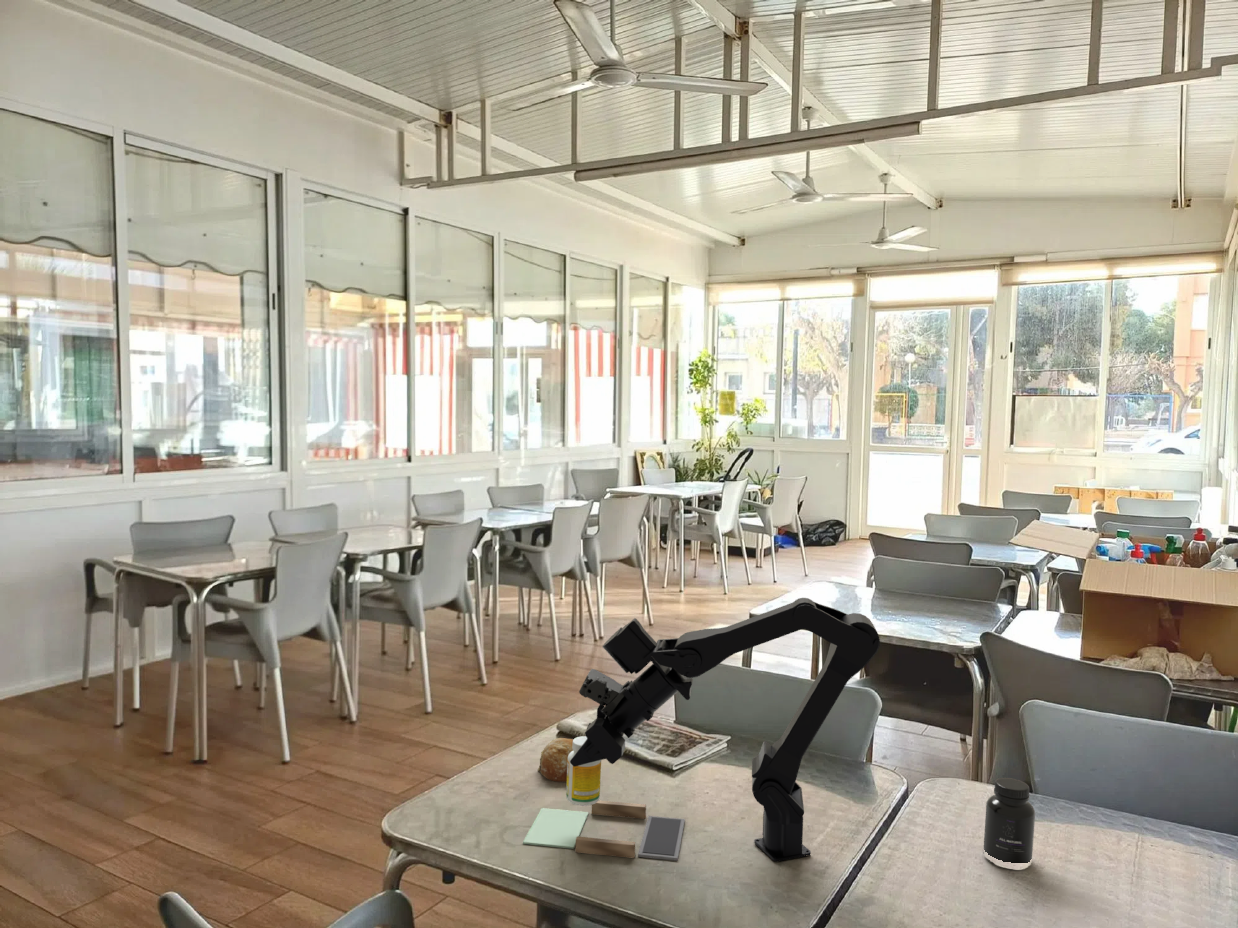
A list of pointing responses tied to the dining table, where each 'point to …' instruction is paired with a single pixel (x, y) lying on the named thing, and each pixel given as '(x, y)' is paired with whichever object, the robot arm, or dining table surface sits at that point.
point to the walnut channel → (608, 845)
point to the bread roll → (556, 759)
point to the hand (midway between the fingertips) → (575, 756)
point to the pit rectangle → (662, 838)
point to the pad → (556, 828)
